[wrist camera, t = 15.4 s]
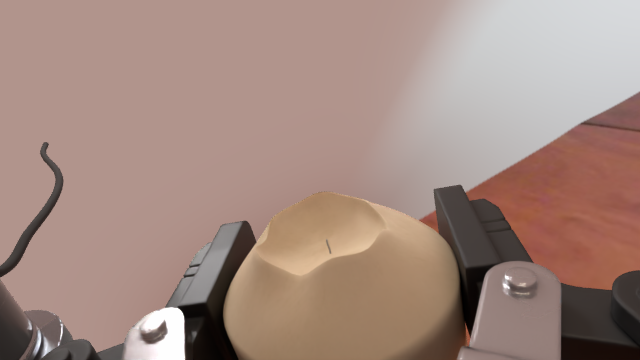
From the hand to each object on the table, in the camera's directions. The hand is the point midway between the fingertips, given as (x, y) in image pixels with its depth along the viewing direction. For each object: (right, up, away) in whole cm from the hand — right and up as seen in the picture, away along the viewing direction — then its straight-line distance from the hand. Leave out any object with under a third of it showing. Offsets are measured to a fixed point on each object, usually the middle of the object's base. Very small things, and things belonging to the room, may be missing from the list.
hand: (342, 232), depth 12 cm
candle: (+2, -8, +1) cm, 9 cm away
